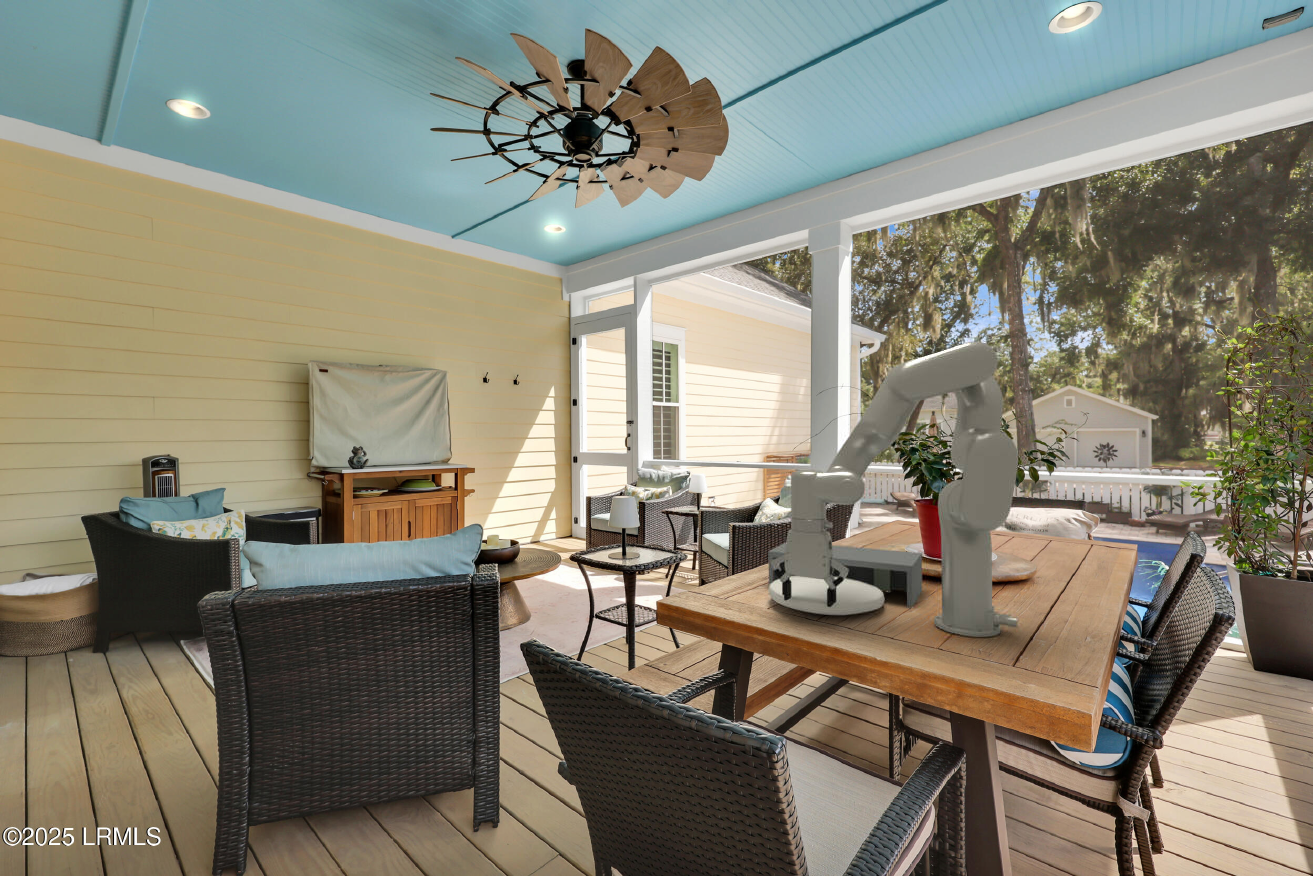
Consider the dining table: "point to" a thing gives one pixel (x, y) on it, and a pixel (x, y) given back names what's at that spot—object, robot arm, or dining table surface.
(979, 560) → the robot arm
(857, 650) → the dining table surface
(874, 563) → the shelf
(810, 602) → the plate
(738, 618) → the dining table surface
